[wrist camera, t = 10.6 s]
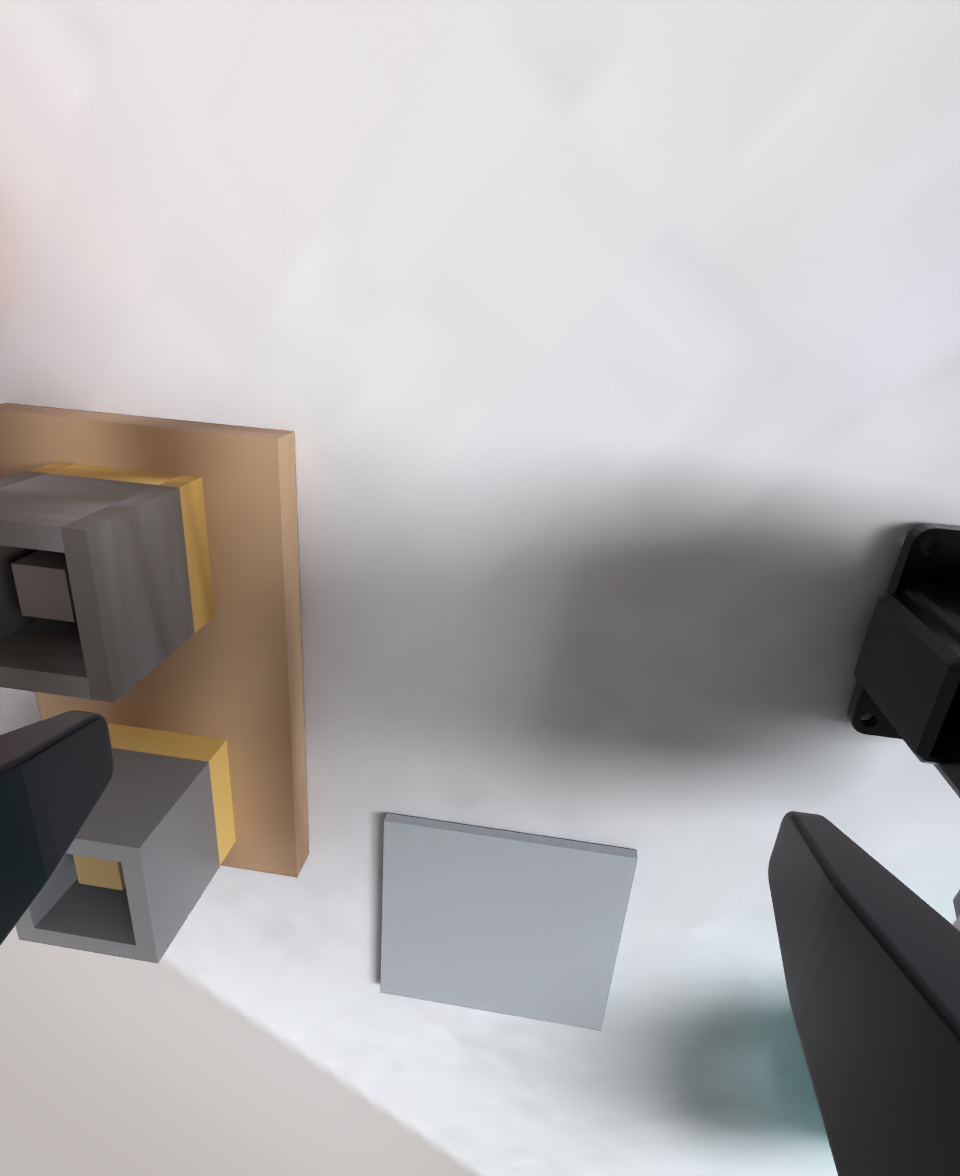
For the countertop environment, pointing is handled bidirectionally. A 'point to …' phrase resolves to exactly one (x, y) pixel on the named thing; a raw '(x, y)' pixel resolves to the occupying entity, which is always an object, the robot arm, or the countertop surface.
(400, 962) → the mat
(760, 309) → the countertop surface
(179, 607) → the pin board
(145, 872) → the sleeve
